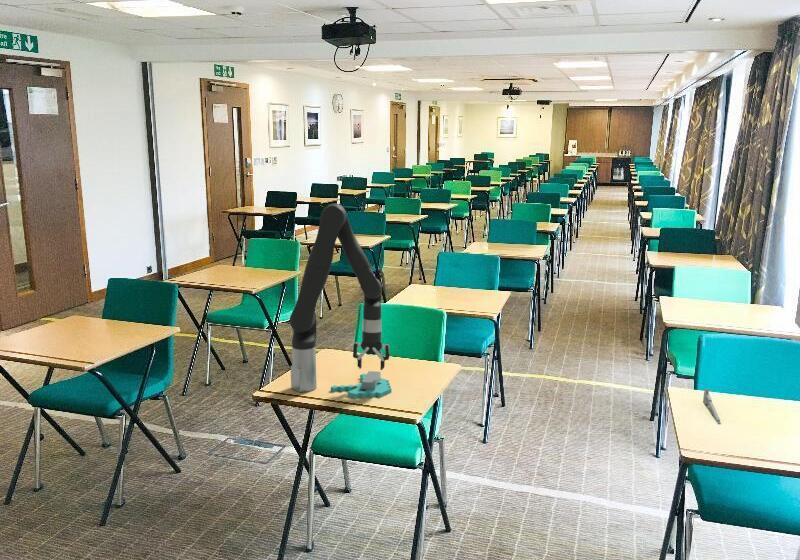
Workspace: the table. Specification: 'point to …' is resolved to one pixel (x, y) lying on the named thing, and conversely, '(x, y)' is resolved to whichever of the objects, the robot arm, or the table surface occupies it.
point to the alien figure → (357, 391)
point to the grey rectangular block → (371, 380)
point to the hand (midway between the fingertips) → (371, 368)
